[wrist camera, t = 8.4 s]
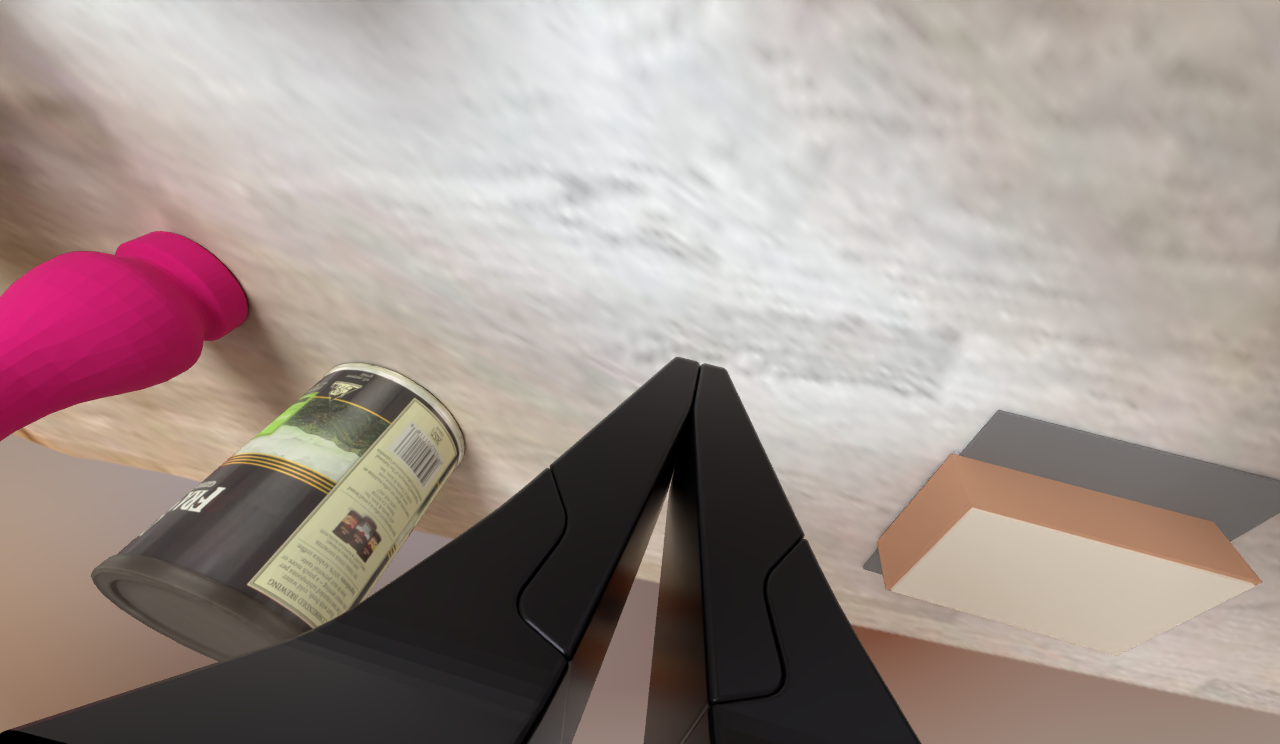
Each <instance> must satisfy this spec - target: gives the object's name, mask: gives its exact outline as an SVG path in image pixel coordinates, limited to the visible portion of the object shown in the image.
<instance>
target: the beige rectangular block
mask: <svg viewBox="0 0 1280 744" xmlns="http://www.w3.org/2000/svg"><path fill="white" fill-rule="evenodd" d="M877 543H878V549H879V554H880V560H881V566H882V572H883V578H884V584H885V589H886V590H890V591H892V592H896V593H899V594H903V595H906V596H910V597H913V598H917V599H920V600H924V601H927V602H931V603H934V604H937V605H941V606H944V607H948V608H951V609H955V610H958V611H962V612H965V613H969V614H972V615H976V616H979V617H983V618H986V619H990V620H993V621H997V622H1000V623H1004V624H1007V625H1010V626H1014V627H1017V628H1021V629H1024V630H1028V631H1031V632H1035V633H1038V634H1042V635H1045V636H1049V637H1052V638H1056V639H1059V640H1063V641H1066V642H1070V643H1073V644H1077V645H1080V646H1083V647H1087V648H1090V649H1094V650H1097V651H1101V652H1104V653H1108V654H1111V655H1115V656H1117V655H1119V654H1121V653H1123V652H1125V651H1127V650H1129V649H1131V648H1133V647H1135V646H1137V645H1139V644H1141V643H1143V642H1145V641H1147V640H1149V639H1151V638H1153V637H1155V636H1157V635H1159V634H1161V633H1163V632H1165V631H1167V630H1169V629H1171V628H1173V627H1175V626H1177V625H1179V624H1181V623H1183V622H1185V621H1187V620H1189V619H1191V618H1193V617H1195V616H1197V615H1199V614H1201V613H1203V612H1205V611H1207V610H1209V609H1211V608H1213V607H1215V606H1217V605H1219V604H1221V603H1223V602H1225V601H1227V600H1229V599H1231V598H1233V597H1235V596H1237V595H1239V594H1241V593H1243V592H1245V591H1247V590H1249V589H1251V588H1253V587H1255V585H1257V584H1259V583H1261V582H1262V581H1261V580H1260V579H1259V577H1258V576H1257V575H1256V574H1255V572H1254V571H1253V570H1252V569H1251V568H1250V566H1249V565H1248V564H1247V563H1246V561H1245V560H1244V559H1243V558H1242V556H1241V555H1240V554H1239V553H1238V551H1237V550H1236V549H1235V548H1234V546H1233V545H1232V544H1231V543H1230V542H1229V540H1228V539H1227V538H1226V537H1225V535H1224V534H1223V533H1222V532H1221V530H1220V529H1219V528H1218V527H1217V525H1216V524H1215V523H1214V522H1212V521H1208V520H1204V519H1200V518H1196V517H1193V516H1189V515H1185V514H1181V513H1177V512H1174V511H1170V510H1166V509H1162V508H1158V507H1154V506H1151V505H1147V504H1143V503H1139V502H1135V501H1131V500H1128V499H1124V498H1120V497H1116V496H1112V495H1108V494H1105V493H1101V492H1097V491H1093V490H1089V489H1085V488H1082V487H1078V486H1074V485H1070V484H1066V483H1063V482H1059V481H1055V480H1051V479H1047V478H1043V477H1040V476H1036V475H1032V474H1028V473H1024V472H1020V471H1017V470H1013V469H1009V468H1005V467H1001V466H997V465H994V464H990V463H986V462H982V461H978V460H975V459H971V458H967V457H963V456H959V455H955V454H951V455H950V456H949V457H948V458H947V460H946V461H945V462H944V463H943V464H942V466H941V467H940V468H939V469H938V470H937V471H936V473H935V474H934V475H933V476H932V477H931V479H930V480H929V481H928V482H927V483H926V484H925V486H924V487H923V488H922V489H921V490H920V492H919V493H918V494H917V495H916V496H915V497H914V499H913V500H912V501H911V502H910V503H909V505H908V506H907V507H906V508H905V509H904V510H903V512H902V513H901V514H900V515H899V516H898V518H897V519H896V520H895V521H894V522H893V523H892V525H891V526H890V527H889V528H888V529H887V530H886V532H885V533H884V534H883V535H882V536H881V538H880V539H879V540H878V541H877Z"/></svg>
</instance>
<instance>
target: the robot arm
mask: <svg viewBox="0 0 1280 744" xmlns="http://www.w3.org/2000/svg"><path fill="white" fill-rule="evenodd" d="M673 471H674V472H673ZM672 475H673V476H672ZM671 479H672V481H671ZM670 482H671V486H670ZM669 486H670V491H669V499H668V508H667V518H666V527H665V537H664V547H663V557H662V567H661V577H660V588H659V597H658V607H657V617H656V627H655V637H654V647H653V657H652V666H651V667H652V668H651V676H650V686H649V696H648V707H647V716H646V726H645V736H644V744H921V742H920V741H919V739H918V737H917V735H916V734H915V732H914V730H913V729H912V727H911V725H910V724H909V722H908V721H907V719H906V717H905V716H904V714H903V712H902V710H901V709H900V707H899V705H898V704H897V702H896V700H895V699H894V697H893V695H892V694H891V692H890V690H889V689H888V687H887V686H886V684H885V682H884V680H883V679H882V677H881V676H880V674H879V672H878V670H877V669H876V667H875V666H874V664H873V662H872V661H871V659H870V657H869V656H868V654H867V652H866V651H865V649H864V647H863V646H862V644H861V642H860V640H859V638H858V637H857V635H856V633H855V631H854V630H853V628H852V626H851V624H850V623H849V621H848V619H847V617H846V616H845V614H844V612H843V610H842V609H841V607H840V605H839V603H838V601H837V599H836V597H835V595H834V593H833V591H832V590H831V588H830V586H829V584H828V582H827V580H826V578H825V576H824V574H823V572H822V570H821V568H820V566H819V564H818V562H817V560H816V558H815V555H814V553H813V551H812V549H811V547H810V545H809V543H808V541H807V540H806V539H803V538H804V532H803V530H802V528H801V526H800V524H799V522H798V520H797V518H796V516H795V513H794V511H793V509H792V507H791V505H790V503H789V501H788V499H787V497H786V494H785V492H784V490H783V488H782V486H781V484H780V482H779V480H778V478H777V475H776V473H775V471H774V469H773V467H772V465H771V463H770V461H769V459H768V456H767V454H766V452H765V450H764V448H763V446H762V444H761V442H760V440H759V437H758V435H757V433H756V431H755V429H754V427H753V425H752V423H751V421H750V418H749V416H748V414H747V412H746V410H745V408H744V406H743V404H742V402H741V399H740V397H739V395H738V393H737V391H736V389H735V387H734V385H733V383H732V380H731V378H730V376H729V374H728V372H727V370H726V369H725V368H722V367H718V366H714V365H710V364H705V363H704V364H702V365H701V366H700V364H699V363H698V362H697V361H693V360H689V359H685V358H681V357H675V358H674V359H673V360H671V361H670V362H669V363H668V364H667V365H666V366H664V367H663V368H662V369H661V370H660V371H659V372H658V373H656V374H655V375H654V376H653V377H652V378H651V379H649V380H648V381H647V382H646V383H645V384H644V385H642V386H641V387H640V388H639V389H638V390H637V391H636V392H634V393H633V394H632V395H631V396H630V397H629V398H627V399H626V400H625V401H624V402H623V403H622V404H620V405H619V406H618V407H617V408H616V409H615V410H614V411H612V412H611V413H610V414H609V415H608V416H607V417H605V418H604V419H603V420H602V421H601V422H600V423H598V424H597V425H596V426H595V427H594V428H593V429H592V430H590V431H589V432H588V433H587V434H586V435H585V436H583V437H582V438H581V439H580V440H579V441H578V442H576V443H575V444H574V445H573V446H572V447H571V448H570V449H568V450H567V451H566V452H565V453H564V454H563V455H561V456H560V457H559V458H558V459H557V460H556V461H554V462H553V463H552V464H551V465H550V469H549V468H546V469H545V470H544V471H543V472H541V473H540V474H539V475H538V476H537V477H536V478H534V479H533V480H532V481H531V482H530V483H529V484H528V485H526V486H525V487H524V488H523V489H521V490H520V491H519V492H518V493H516V494H515V495H514V496H513V497H511V498H510V499H509V500H508V501H507V502H505V503H504V504H503V505H502V506H500V507H499V508H498V509H496V510H495V511H494V512H492V513H491V514H489V515H488V516H487V517H485V518H484V519H482V520H481V521H480V522H478V523H477V524H475V525H474V526H473V527H471V528H470V529H468V530H467V531H466V532H464V533H463V534H461V535H460V536H458V537H457V538H455V539H454V540H452V541H451V542H449V543H448V544H446V545H445V546H444V547H442V548H441V549H439V550H438V551H436V552H435V553H433V554H432V555H430V556H429V557H427V558H426V559H424V560H423V561H422V562H420V563H418V564H417V565H415V566H414V567H413V568H411V569H410V570H408V571H407V572H405V573H404V574H402V575H401V576H399V577H398V578H396V579H395V580H394V581H392V582H390V583H389V584H387V585H386V586H385V587H383V588H382V589H380V590H379V591H377V592H376V593H374V594H373V595H372V596H370V597H369V598H367V599H365V600H364V601H362V602H361V603H359V604H358V605H356V606H355V607H353V608H351V609H350V610H348V611H346V612H344V613H343V614H341V615H339V616H337V617H335V618H334V619H332V620H330V621H328V622H326V623H324V624H322V625H320V626H318V627H316V628H314V629H312V630H309V631H307V632H305V633H302V634H300V635H298V636H295V637H293V638H290V639H288V640H285V641H282V642H279V643H276V644H273V645H270V646H267V647H264V648H261V649H257V650H254V651H251V652H248V653H245V654H242V655H239V656H236V657H233V658H230V659H226V660H223V661H220V662H217V663H214V664H211V665H208V666H205V667H202V668H199V669H195V670H192V671H189V672H186V673H183V674H180V675H177V676H174V677H171V678H168V679H165V680H162V681H158V682H155V683H152V684H149V685H146V686H143V687H140V688H137V689H134V690H130V691H127V692H124V693H121V694H118V695H115V696H112V697H109V698H106V699H102V700H99V701H96V702H93V703H90V704H87V705H84V706H81V707H78V708H75V709H71V710H69V711H66V712H62V713H59V714H56V715H53V716H50V717H47V718H44V719H40V720H38V721H34V722H31V723H28V724H25V725H22V726H19V727H16V728H13V729H10V730H6V731H4V732H2V733H1V734H0V744H572V741H573V738H574V736H575V733H576V731H577V728H578V725H579V723H580V720H581V717H582V715H583V712H584V710H585V707H586V705H587V702H588V699H589V697H590V694H591V691H592V689H593V686H594V684H595V681H596V678H597V676H598V673H599V671H600V668H601V665H602V663H603V660H604V657H605V655H606V652H607V650H608V647H609V644H610V642H611V639H612V637H613V634H614V631H615V629H616V626H617V623H618V621H619V618H620V615H621V613H622V610H623V608H624V605H625V603H626V600H627V597H628V595H629V592H630V590H631V587H632V584H633V582H634V579H635V577H636V574H637V571H638V569H639V566H640V563H641V561H642V558H643V556H644V553H645V550H646V548H647V545H648V543H649V540H650V537H651V535H652V532H653V529H654V527H655V524H656V522H657V519H658V516H659V514H660V511H661V509H662V506H663V503H664V501H665V498H666V495H667V492H668V489H669Z"/></svg>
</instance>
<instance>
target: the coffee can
mask: <svg viewBox="0 0 1280 744" xmlns="http://www.w3.org/2000/svg"><path fill="white" fill-rule="evenodd" d="M464 449H465V447H464V440H463V436H462V433H461V431H460V429H459V427H458V425H457V423H456V421H455V420H454V418H453V417H452V415H451V414H450V413H449V411H448V410H447V409H446V408H445V407H444V406H443V405H442V404H441V403H440V402H439V401H438V400H437V399H436V398H435V397H434V396H433V395H432V394H430V393H429V392H428V391H427V390H426V389H424V388H423V387H421V386H419V385H418V384H416V383H415V382H413V381H412V380H410V379H409V378H406V377H405V376H403V375H401V374H399V373H396V372H394V371H392V370H389V369H386V368H384V367H380V366H376V365H372V364H367V363H347V364H343V365H339V366H337V367H335V368H333V369H332V370H330V371H329V372H328V373H327V374H326V375H325V376H324V378H323V379H322V380H320V381H319V382H318V383H317V384H316V385H315V386H314V387H312V388H311V389H310V390H309V391H308V392H307V393H306V394H304V395H303V396H302V397H301V398H300V399H299V400H298V401H296V402H295V403H294V404H293V405H292V406H290V407H289V408H288V409H287V410H286V411H285V412H284V413H282V414H281V415H280V416H279V417H278V418H277V419H275V420H274V421H273V422H272V423H271V424H269V425H268V426H267V427H266V428H265V429H264V430H262V431H261V432H260V433H259V434H258V435H257V436H256V437H254V438H253V439H252V440H251V441H250V442H248V443H247V444H246V445H245V446H244V447H243V448H241V449H240V450H239V451H238V452H237V453H236V454H234V455H233V456H232V457H230V458H229V459H228V460H227V461H226V462H225V463H224V464H222V465H221V466H220V467H219V468H218V469H216V470H215V471H214V472H213V473H212V474H211V475H210V476H208V477H207V478H206V479H205V480H204V481H203V482H201V483H200V484H199V485H198V486H197V487H196V488H194V489H193V490H192V491H191V492H190V493H188V494H187V495H186V496H185V497H184V498H182V499H181V500H180V501H179V502H178V503H177V504H176V505H175V506H173V507H172V508H171V509H170V510H169V511H168V512H167V513H165V514H164V515H163V516H161V517H160V518H159V519H158V520H156V522H154V523H153V524H152V525H151V526H150V527H149V528H148V529H146V530H145V531H144V532H143V533H142V534H141V535H139V536H138V537H137V538H136V539H134V540H133V541H131V542H130V544H128V545H127V546H126V547H125V548H124V549H123V550H121V551H120V552H119V553H118V554H117V555H114V556H112V557H109V558H108V559H107V560H105V561H104V562H103V563H101V564H100V565H99V566H98V567H96V568H95V569H94V570H93V572H92V574H91V577H92V580H93V582H94V584H95V585H96V586H97V588H98V589H99V590H100V591H101V593H102V594H103V595H104V596H106V597H107V598H108V599H109V600H110V601H111V602H113V603H114V604H115V605H117V606H118V607H119V608H120V609H122V610H124V611H125V612H127V613H128V614H129V615H131V616H132V617H134V618H135V619H137V620H139V621H141V622H142V623H143V624H145V625H147V626H148V627H150V628H152V629H154V630H155V631H157V632H159V633H161V634H163V635H165V636H167V637H169V638H171V639H173V640H174V641H176V642H177V643H179V644H181V645H183V646H185V647H188V648H190V649H192V650H194V651H196V652H198V653H200V654H203V655H205V656H207V657H210V658H212V659H214V660H216V661H219V662H220V661H223V660H226V659H230V658H233V657H236V656H239V655H242V654H245V653H248V652H251V651H254V650H257V649H261V648H264V647H267V646H270V645H273V644H276V643H279V642H282V641H285V640H288V639H290V638H293V637H295V636H298V635H300V634H302V633H305V632H307V631H309V630H312V629H314V628H316V627H318V626H320V625H322V624H324V623H326V622H328V621H330V620H332V619H334V618H335V617H337V616H339V615H341V614H343V613H344V612H346V611H348V610H350V609H351V608H353V607H355V606H356V605H358V604H359V603H361V602H362V601H364V600H365V599H367V597H368V595H369V594H370V593H371V591H372V589H373V588H374V587H375V585H376V584H377V582H378V581H379V579H380V578H381V576H382V575H383V574H384V572H385V570H386V569H387V568H388V566H389V564H390V563H391V562H392V560H393V559H394V557H395V556H396V554H397V553H398V551H399V550H400V548H401V547H402V545H403V544H404V542H405V541H406V540H407V538H408V537H409V535H410V533H411V532H412V531H413V529H414V528H415V526H416V525H417V523H418V522H419V520H420V519H421V517H422V516H423V514H424V513H425V511H426V510H427V508H428V507H429V505H430V504H431V502H432V501H433V499H434V498H435V496H436V495H437V494H438V492H439V491H440V489H441V488H442V486H443V485H444V483H445V482H446V481H447V479H448V478H449V476H450V475H451V473H452V472H453V471H454V469H455V468H456V467H457V466H458V465H459V464H460V462H461V460H462V458H463V456H464Z"/></svg>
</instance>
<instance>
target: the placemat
mask: <svg viewBox="0 0 1280 744" xmlns="http://www.w3.org/2000/svg"><path fill="white" fill-rule="evenodd" d="M959 456H963V457H967V458H971V459H975V460H978V461H982V462H986V463H990V464H994V465H997V466H1001V467H1005V468H1009V469H1013V470H1017V471H1020V472H1024V473H1028V474H1032V475H1036V476H1040V477H1043V478H1047V479H1051V480H1055V481H1059V482H1063V483H1066V484H1070V485H1074V486H1078V487H1082V488H1085V489H1089V490H1093V491H1097V492H1101V493H1105V494H1108V495H1112V496H1116V497H1120V498H1124V499H1128V500H1131V501H1135V502H1139V503H1143V504H1147V505H1151V506H1154V507H1158V508H1162V509H1166V510H1170V511H1174V512H1177V513H1181V514H1185V515H1189V516H1193V517H1196V518H1200V519H1204V520H1208V521H1212V522H1214V523H1215V524H1216V525H1217V527H1218V528H1219V529H1220V530H1221V532H1222V533H1223V534H1224V535H1225V537H1226V538H1227V539H1228V540H1229V542H1230V541H1232V540H1233V539H1235V538H1237V537H1239V536H1240V535H1242V534H1244V533H1245V532H1247V531H1249V530H1251V529H1252V528H1254V527H1256V526H1257V525H1259V524H1261V523H1263V522H1264V521H1266V520H1268V519H1269V518H1271V517H1273V516H1275V515H1276V514H1278V513H1280V481H1279V480H1275V479H1271V478H1267V477H1263V476H1259V475H1255V474H1251V473H1247V472H1243V471H1239V470H1235V469H1231V468H1227V467H1223V466H1219V465H1215V464H1211V463H1207V462H1203V461H1199V460H1195V459H1191V458H1187V457H1183V456H1179V455H1176V454H1172V453H1168V452H1164V451H1160V450H1156V449H1152V448H1148V447H1144V446H1140V445H1136V444H1132V443H1128V442H1124V441H1120V440H1116V439H1112V438H1108V437H1104V436H1100V435H1096V434H1092V433H1088V432H1084V431H1080V430H1076V429H1072V428H1068V427H1064V426H1060V425H1056V424H1052V423H1049V422H1045V421H1041V420H1037V419H1033V418H1029V417H1025V416H1021V415H1017V414H1013V413H1009V412H1005V411H1001V410H998V411H997V412H996V413H995V415H994V416H993V417H992V418H991V419H990V420H989V421H988V423H987V424H986V425H985V426H984V427H983V428H982V430H981V431H980V432H979V433H978V434H977V435H976V436H975V438H974V439H973V440H972V441H971V442H970V443H969V445H968V446H967V447H966V448H965V449H964V450H963V451H962V453H961V454H960V455H959ZM863 568H864V569H865V570H869V571H872V572H876V573H879V574H883V572H882V566H881V560H880V554H879V549H878V550H877V551H876V552H875V553H874V554H873V555H872V557H871V558H870V559H869V560H868V561H867V562H866V564H865V565H864V566H863Z"/></svg>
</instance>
